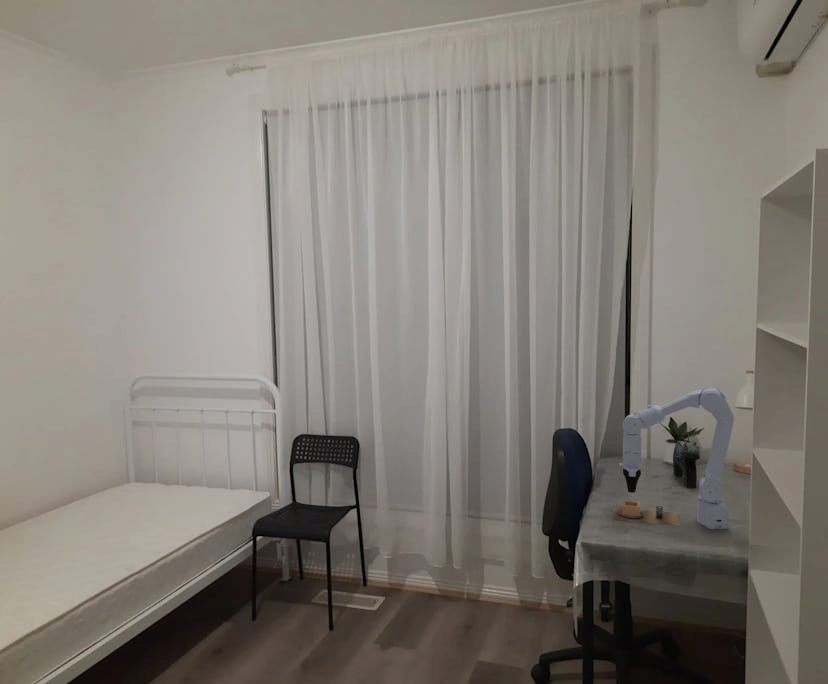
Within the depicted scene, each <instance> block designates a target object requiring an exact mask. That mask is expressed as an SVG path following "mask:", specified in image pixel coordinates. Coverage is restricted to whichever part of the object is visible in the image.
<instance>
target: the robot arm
mask: <svg viewBox="0 0 828 684" xmlns="http://www.w3.org/2000/svg"><path fill="white" fill-rule="evenodd" d="M700 406H701V407H702V408H703V409H704V410H705V411H707V412H708V413H710V414H711V415H712V416H713V418H714V419H715V420H716V423H715V428H714V433H713V438H712V441H711V446H710V450H709V454H708V459H707V460H708V461H707V463H706V464H707V465H706V468H705V470H704V474H703V475H702V477H701V478H700V479H699V483H698V484H699V489H698V495H697V501H696V502H697V505H696V506H697V507H696V508H697V509H696V521H697V523H698V524H699V525H703V527H705V528H707V529H709V530H723V529H729V511H728V508H727V507H726V506H725V505H724V498H723V496H722V495H723V494H722V493H723V492H722V475H723V470H724V465H725V462H726V457H727V453H728V448H729V445H730V439H731V435H732V431H733V427H734V422H735V415H734V413H733V411H732V409H731V407H730V404H729V402H728V400H727V398H726V396H725V395H724V393H723V392H721V391H720V389H718V388H717V387H715V386H706V387H704V388H703V389H697V390H694V391H691V392H689V393H687V394H684V395H682V396H680V397H678V398H676V399H674V400H671V401H670V402H668V403H666V404H663V405H657V404H653V405H652V404H649V405H646V408H644V409H642V410H640V411H634V412H633V414H628V415H626V417H625V418H624V420H623V421H622V429H623V434H622V435H623V437H622V462H621V463H620V462H619V463H618V466H619V467H620V468H624V469H622V474H623V476H624V479H625V481H626V482H625V483H626V488H627V492H628V493H633V494H634V493H636V489H637V485H638V481H639V479H640V477H641V475H642V471H641V470H642V467H643V465H642V436H641V434H642V433H641V432H642V431H641V430H642V429H644V430H645V429H648V428H649V427H652V426H655V425H657V424H660V423H662V422H664V420H665V418H666V416H668V415H671V414H673V413H677V412H679V411H682V410H684V409H686V408H690V407H691V408H694V409H695V408H696V409H700Z"/></svg>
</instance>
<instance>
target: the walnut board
mask: <svg viewBox="0 0 828 684" xmlns="http://www.w3.org/2000/svg"><path fill="white" fill-rule="evenodd" d="M621 509H623V507H613V508H612V520H613V521H622V522H631V523H641V524H653V525H662V526H663V525H665V526H676V527H680V521H679V517H678V513H677V512H668V511H663V518H662V519H658V518H656V510H647V509H646V510H645V509H640V511H641V512H643V518H640V519H627V518H624V517H621V516H620V515H619V510H621Z"/></svg>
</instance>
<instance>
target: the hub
mask: <svg viewBox="0 0 828 684" xmlns="http://www.w3.org/2000/svg"><path fill="white" fill-rule="evenodd" d="M631 506H632V505H631ZM622 512H623V509H621V510H619V515H620V516H621V517H624V518H627V519H640V518H643V512H641V511H640V516H632V515H622Z"/></svg>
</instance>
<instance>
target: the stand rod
mask: <svg viewBox="0 0 828 684" xmlns="http://www.w3.org/2000/svg"><path fill="white" fill-rule="evenodd" d="M655 511H656V518H658V519H662V518H663V512H664V507H663V506H662V505H656V506H655Z"/></svg>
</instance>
